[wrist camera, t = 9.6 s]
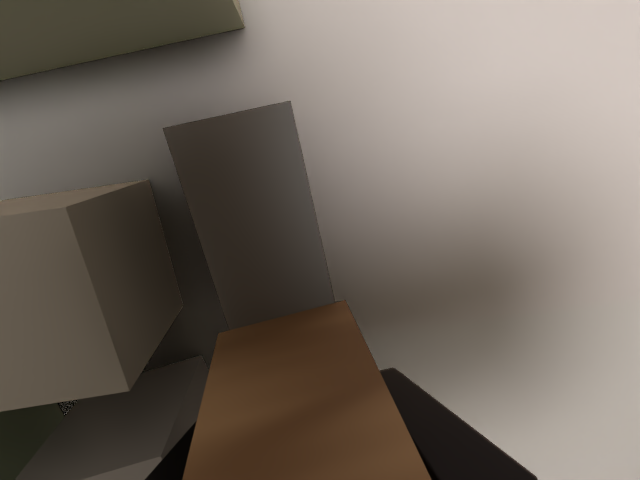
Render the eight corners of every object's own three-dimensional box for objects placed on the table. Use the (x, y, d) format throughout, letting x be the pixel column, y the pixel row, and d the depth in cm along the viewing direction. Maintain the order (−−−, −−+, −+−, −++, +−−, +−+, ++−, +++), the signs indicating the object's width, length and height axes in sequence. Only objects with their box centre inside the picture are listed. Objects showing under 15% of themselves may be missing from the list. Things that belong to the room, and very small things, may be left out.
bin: (234, -18, 9) (190, -127, 5) (359, 502, 14) (383, 637, 10) (-165, 68, 9) (-511, 22, 5) (111, 559, 14) (45, 716, 10)
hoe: (292, 108, 10) (449, -59, 1) (366, 442, 14) (536, 970, 5) (183, 132, 10) (-421, 107, 1) (287, 464, 13) (326, 1059, 5)
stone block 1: (149, 178, 10) (65, 207, 6) (183, 304, 11) (129, 391, 8) (7, 199, 10) (-165, 240, 6) (56, 323, 11) (-64, 422, 8)
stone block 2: (202, 353, 12) (160, 456, 8) (242, 443, 13) (223, 569, 9) (88, 387, 12) (-6, 505, 8) (138, 473, 13) (77, 612, 9)
